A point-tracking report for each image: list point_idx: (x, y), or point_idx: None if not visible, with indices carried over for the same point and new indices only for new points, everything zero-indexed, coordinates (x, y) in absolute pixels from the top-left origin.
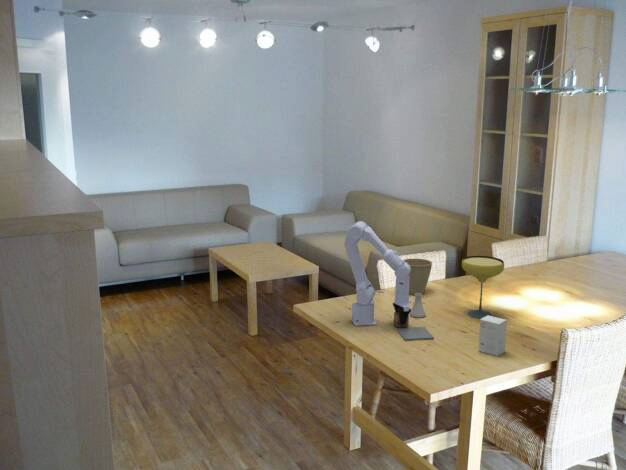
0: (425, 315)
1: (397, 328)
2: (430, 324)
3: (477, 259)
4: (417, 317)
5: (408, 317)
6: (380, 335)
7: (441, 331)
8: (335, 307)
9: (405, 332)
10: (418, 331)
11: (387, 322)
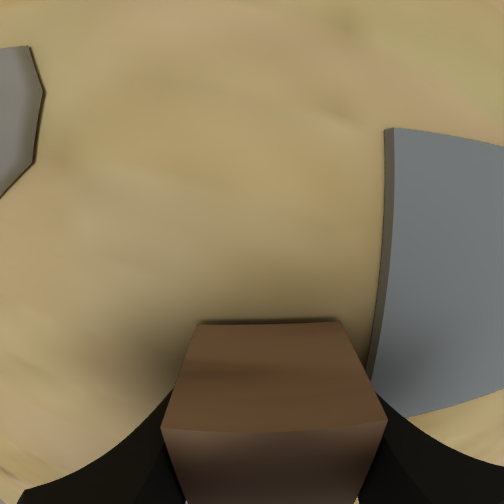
0: (20, 47)
1: None
2: (251, 17)
3: None
4: (34, 131)
5: (376, 401)
6: None
7: (455, 12)
8: (18, 495)
9: (466, 370)
10: (492, 252)
11: None
